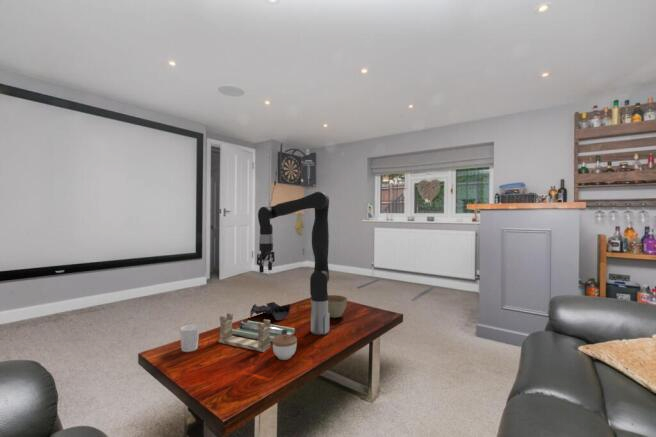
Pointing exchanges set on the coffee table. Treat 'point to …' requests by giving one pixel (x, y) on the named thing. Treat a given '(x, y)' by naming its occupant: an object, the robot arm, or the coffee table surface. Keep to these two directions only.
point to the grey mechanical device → (272, 310)
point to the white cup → (189, 337)
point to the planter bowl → (336, 305)
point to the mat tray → (254, 334)
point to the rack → (258, 345)
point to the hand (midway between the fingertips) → (265, 271)
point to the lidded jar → (284, 346)
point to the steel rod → (254, 327)
